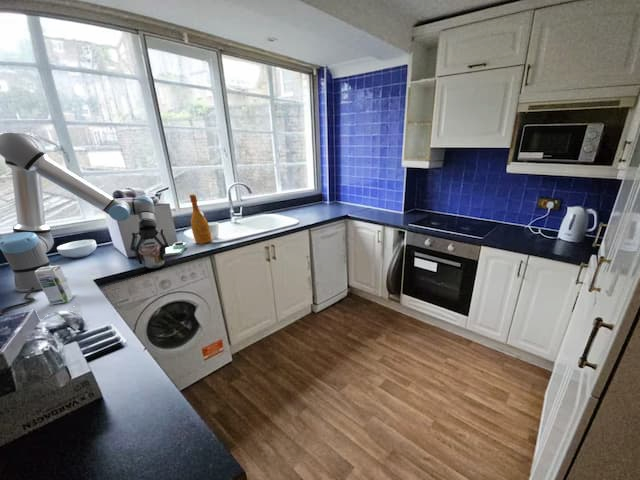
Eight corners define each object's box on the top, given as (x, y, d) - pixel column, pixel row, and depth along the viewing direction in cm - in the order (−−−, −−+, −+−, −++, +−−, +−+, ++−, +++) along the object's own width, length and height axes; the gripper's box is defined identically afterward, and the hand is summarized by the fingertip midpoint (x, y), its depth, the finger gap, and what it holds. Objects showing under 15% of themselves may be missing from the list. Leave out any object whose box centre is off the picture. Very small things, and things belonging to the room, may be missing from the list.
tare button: (182, 245, 174) (181, 242, 174) (174, 246, 173) (173, 243, 173) (183, 243, 178) (183, 241, 177) (176, 244, 177) (175, 241, 176)
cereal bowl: (68, 253, 174) (63, 242, 171) (103, 248, 180) (99, 237, 177) (56, 262, 160) (50, 250, 157) (94, 257, 166) (89, 245, 163)
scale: (182, 254, 168) (180, 249, 167) (156, 257, 164) (155, 252, 163) (188, 246, 180) (186, 241, 179) (164, 249, 177) (163, 244, 176)
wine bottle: (200, 245, 182) (188, 196, 170) (192, 242, 187) (179, 195, 175) (215, 241, 190) (204, 193, 178) (206, 238, 195) (195, 192, 183)
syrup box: (49, 305, 116) (32, 272, 110) (57, 298, 121) (41, 266, 115) (68, 302, 118) (52, 269, 112) (74, 295, 123) (59, 264, 117)
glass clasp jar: (155, 270, 146) (148, 247, 142) (140, 269, 147) (132, 246, 143) (168, 263, 155) (162, 241, 150) (154, 262, 156) (147, 241, 151)
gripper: (172, 224, 161) (178, 260, 154) (125, 229, 153) (128, 268, 146) (169, 216, 155) (174, 254, 148) (119, 221, 146) (122, 261, 139)
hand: (151, 261), depth 147 cm, fingers closed on glass clasp jar, 9 cm apart
